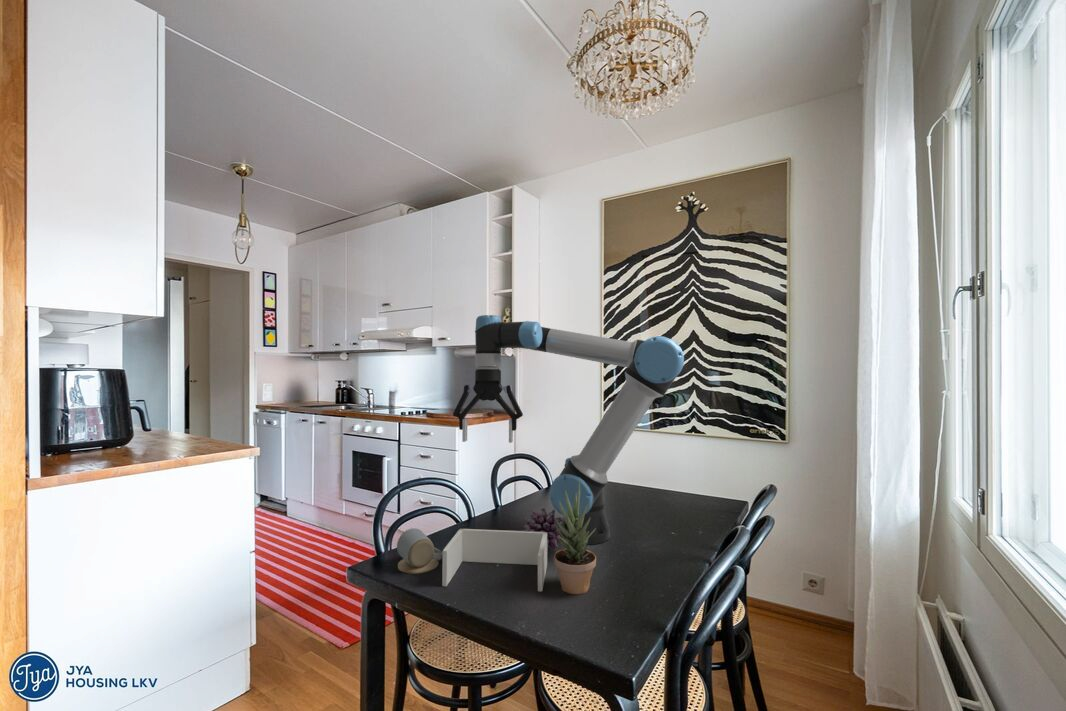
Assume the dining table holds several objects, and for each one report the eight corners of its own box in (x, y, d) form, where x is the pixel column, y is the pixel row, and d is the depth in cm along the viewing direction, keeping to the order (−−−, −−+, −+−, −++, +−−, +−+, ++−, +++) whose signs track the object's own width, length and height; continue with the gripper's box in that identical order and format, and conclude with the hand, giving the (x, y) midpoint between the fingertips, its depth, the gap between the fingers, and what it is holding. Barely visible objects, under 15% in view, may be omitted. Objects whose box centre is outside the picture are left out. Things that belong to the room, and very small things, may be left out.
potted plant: (566, 602, 100) (566, 485, 100) (547, 583, 108) (547, 476, 109) (606, 593, 104) (605, 481, 104) (584, 575, 112) (584, 472, 113)
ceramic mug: (408, 572, 112) (409, 540, 113) (395, 561, 119) (396, 530, 119) (448, 562, 119) (448, 532, 119) (434, 552, 125) (435, 523, 125)
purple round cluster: (574, 552, 127) (574, 507, 127) (544, 565, 118) (544, 517, 119) (543, 540, 135) (543, 499, 135) (513, 552, 127) (513, 508, 127)
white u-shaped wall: (547, 563, 119) (547, 532, 119) (542, 591, 104) (542, 555, 104) (459, 559, 122) (459, 528, 122) (442, 586, 107) (442, 550, 107)
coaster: (443, 558, 123) (443, 555, 123) (431, 574, 113) (431, 572, 113) (406, 556, 124) (406, 554, 124) (391, 572, 114) (391, 570, 114)
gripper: (531, 368, 138) (531, 440, 138) (450, 368, 141) (449, 438, 140) (528, 368, 131) (528, 444, 130) (442, 368, 134) (442, 442, 133)
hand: (487, 441), depth 135 cm, fingers open, 13 cm apart
